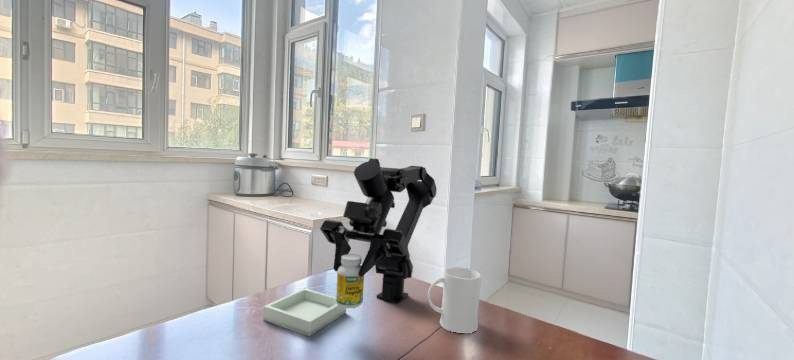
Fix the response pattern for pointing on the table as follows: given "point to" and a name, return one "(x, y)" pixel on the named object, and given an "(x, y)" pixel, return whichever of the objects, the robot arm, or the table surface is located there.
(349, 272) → the supplement bottle
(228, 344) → the table surface
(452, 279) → the mug
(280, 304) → the tray
